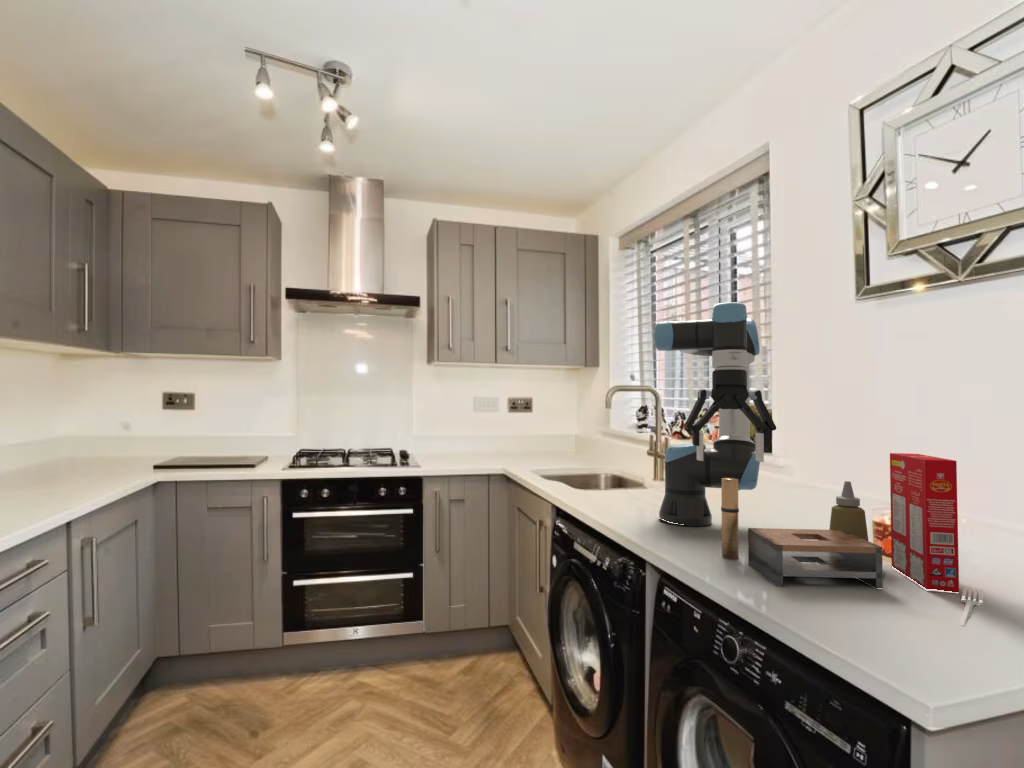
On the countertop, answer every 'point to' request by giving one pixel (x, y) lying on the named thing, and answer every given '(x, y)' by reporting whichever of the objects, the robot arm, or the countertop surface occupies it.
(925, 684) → the countertop surface
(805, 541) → the frame
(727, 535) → the wooden peg
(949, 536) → the food packaging
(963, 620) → the fork
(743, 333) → the robot arm
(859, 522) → the squeeze bottle
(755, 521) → the countertop surface
